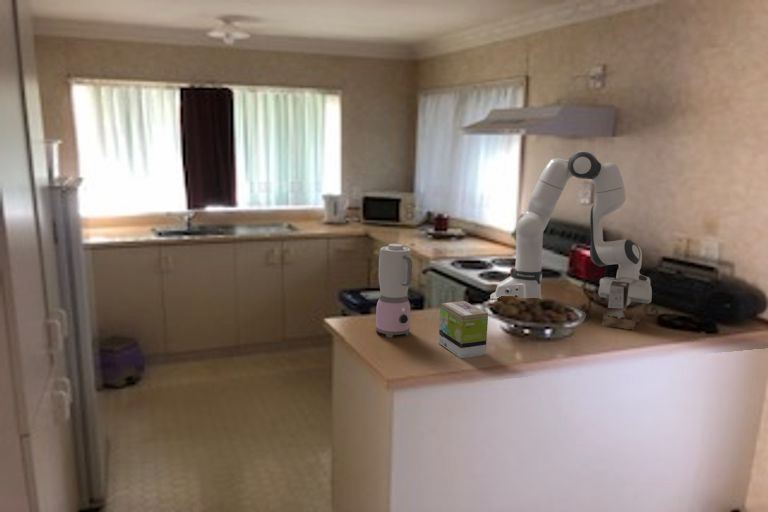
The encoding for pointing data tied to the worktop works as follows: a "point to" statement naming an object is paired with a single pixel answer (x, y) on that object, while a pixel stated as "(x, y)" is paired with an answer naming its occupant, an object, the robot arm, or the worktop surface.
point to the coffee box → (618, 300)
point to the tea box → (463, 329)
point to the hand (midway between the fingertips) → (622, 308)
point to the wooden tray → (620, 321)
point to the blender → (394, 290)
